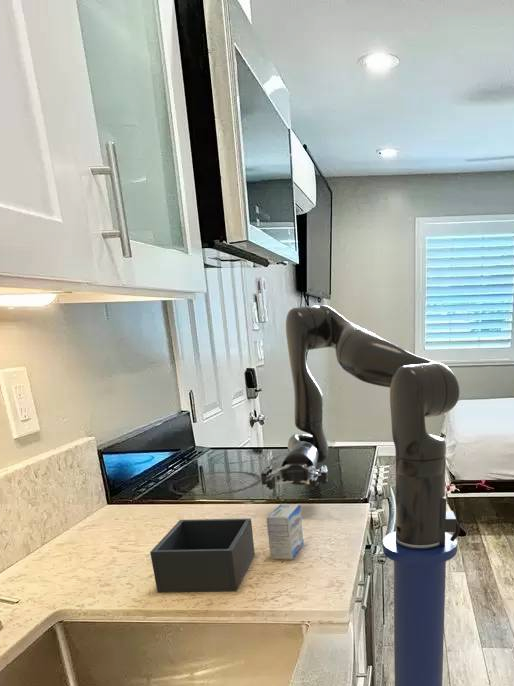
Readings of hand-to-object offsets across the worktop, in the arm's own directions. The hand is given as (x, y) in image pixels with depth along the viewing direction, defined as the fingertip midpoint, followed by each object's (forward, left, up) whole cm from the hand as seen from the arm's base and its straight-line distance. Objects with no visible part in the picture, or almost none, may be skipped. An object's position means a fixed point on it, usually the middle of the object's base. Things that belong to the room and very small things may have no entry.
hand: (290, 484), depth 119 cm
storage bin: (+13, +20, -10) cm, 26 cm away
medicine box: (0, +11, -11) cm, 15 cm away
